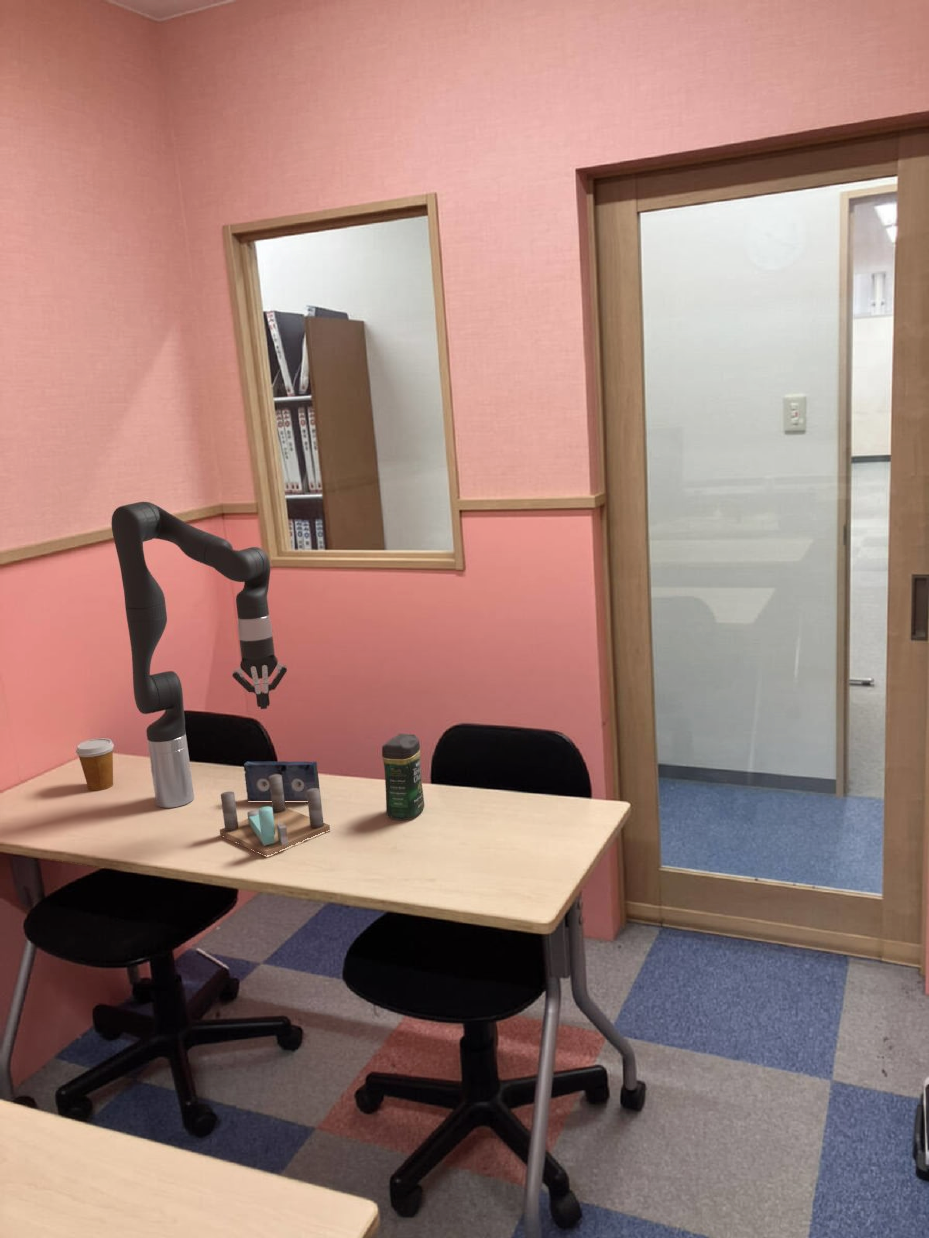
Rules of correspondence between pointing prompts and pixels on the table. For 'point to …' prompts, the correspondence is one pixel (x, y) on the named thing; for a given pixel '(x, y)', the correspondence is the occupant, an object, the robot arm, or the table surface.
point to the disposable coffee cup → (97, 763)
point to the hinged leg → (263, 824)
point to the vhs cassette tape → (293, 778)
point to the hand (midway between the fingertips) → (264, 707)
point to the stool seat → (275, 820)
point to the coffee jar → (403, 777)
